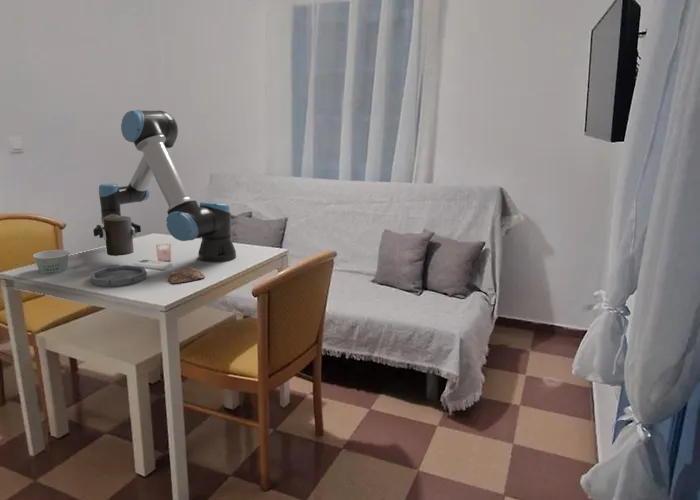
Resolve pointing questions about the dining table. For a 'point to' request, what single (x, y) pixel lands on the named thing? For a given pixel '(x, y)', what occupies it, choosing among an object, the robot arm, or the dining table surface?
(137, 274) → the tray
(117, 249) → the pillar candle
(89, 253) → the dining table surface
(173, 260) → the dining table surface
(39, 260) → the food container
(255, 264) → the dining table surface
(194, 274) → the shell
